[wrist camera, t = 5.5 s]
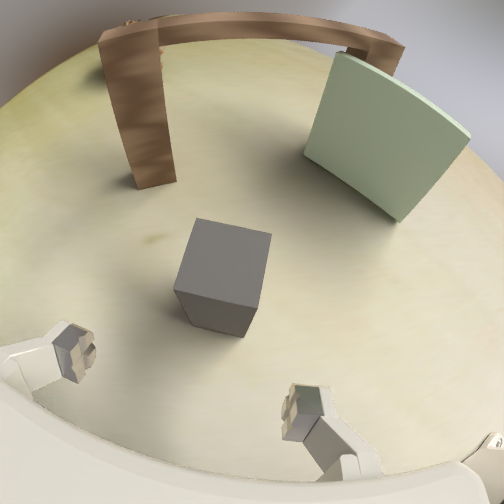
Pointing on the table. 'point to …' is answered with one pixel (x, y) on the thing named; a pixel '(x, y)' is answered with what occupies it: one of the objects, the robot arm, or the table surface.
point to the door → (382, 136)
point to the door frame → (201, 29)
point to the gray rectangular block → (222, 276)
